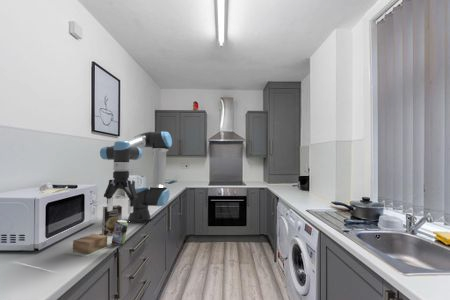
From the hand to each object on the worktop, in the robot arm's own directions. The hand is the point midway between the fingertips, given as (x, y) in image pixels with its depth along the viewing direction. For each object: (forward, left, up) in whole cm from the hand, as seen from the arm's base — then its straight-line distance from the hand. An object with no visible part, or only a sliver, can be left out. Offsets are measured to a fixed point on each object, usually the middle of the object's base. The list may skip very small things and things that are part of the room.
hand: (120, 211), depth 112 cm
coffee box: (-10, -16, -17) cm, 25 cm away
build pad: (+10, -8, -17) cm, 21 cm away
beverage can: (0, 0, -17) cm, 17 cm away
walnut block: (+10, -8, -16) cm, 20 cm away
